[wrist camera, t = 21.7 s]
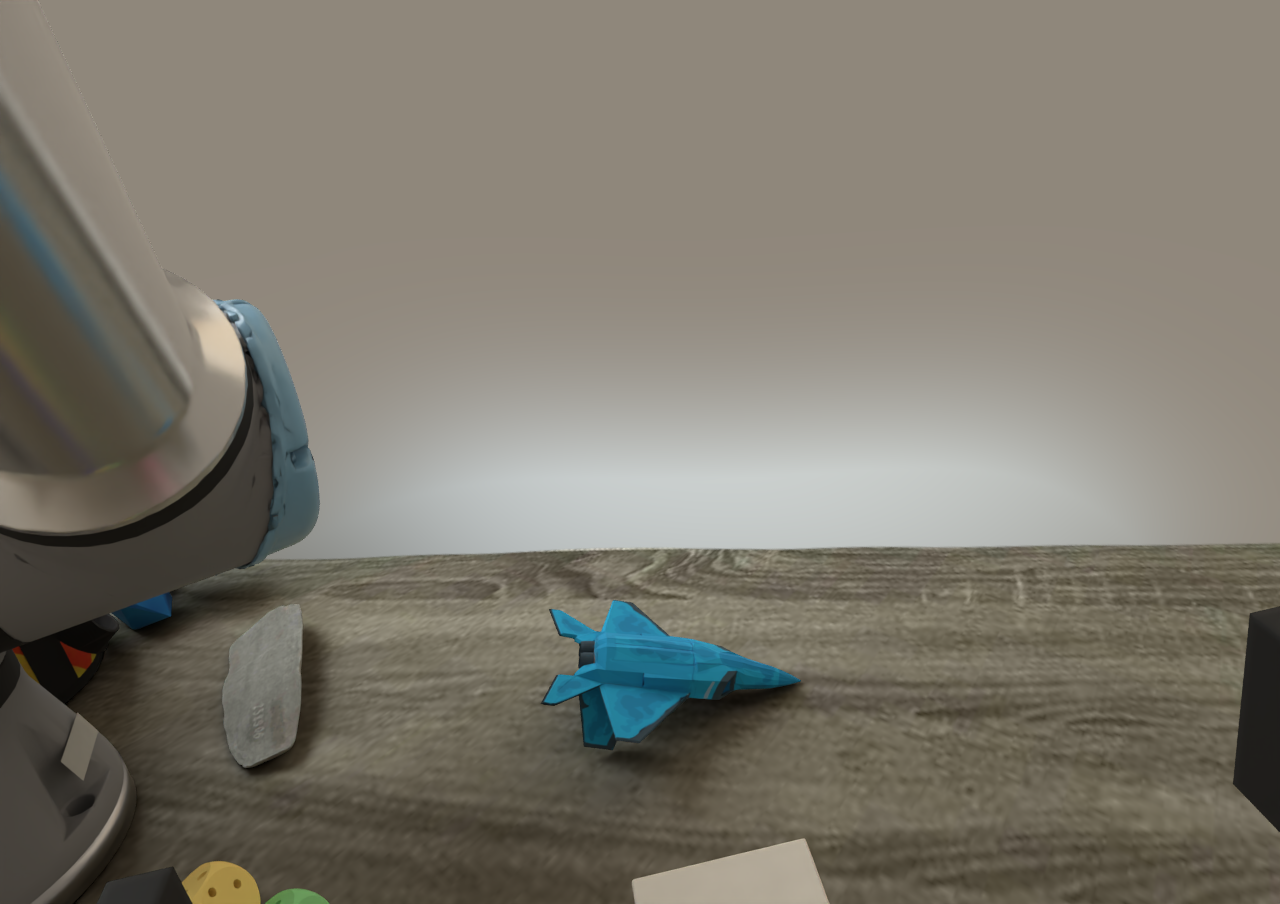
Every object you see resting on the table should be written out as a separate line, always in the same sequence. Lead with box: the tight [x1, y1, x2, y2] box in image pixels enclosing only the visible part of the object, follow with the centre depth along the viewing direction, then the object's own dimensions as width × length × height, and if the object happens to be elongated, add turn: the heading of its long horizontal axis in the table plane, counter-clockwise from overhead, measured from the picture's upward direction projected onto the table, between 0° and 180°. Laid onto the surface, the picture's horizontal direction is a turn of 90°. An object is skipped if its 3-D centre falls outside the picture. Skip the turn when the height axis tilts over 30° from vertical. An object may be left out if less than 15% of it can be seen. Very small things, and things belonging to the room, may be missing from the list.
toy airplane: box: [541, 600, 801, 750], centre depth 47 cm, size 12×10×4 cm
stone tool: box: [222, 604, 303, 768], centre depth 54 cm, size 14×1×5 cm
